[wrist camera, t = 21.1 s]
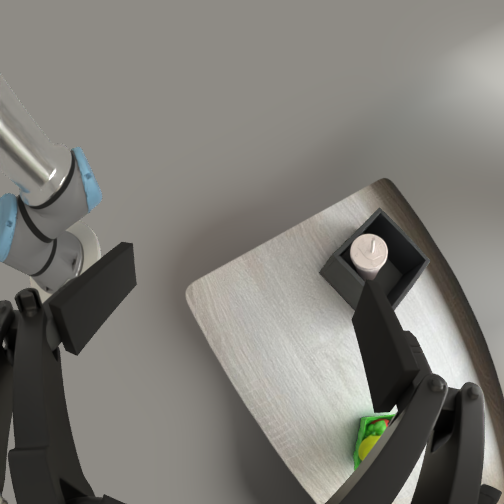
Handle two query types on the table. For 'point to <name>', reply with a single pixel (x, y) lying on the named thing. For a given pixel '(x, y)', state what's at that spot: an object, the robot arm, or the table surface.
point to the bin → (389, 275)
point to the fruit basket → (369, 435)
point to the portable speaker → (488, 495)
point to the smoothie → (368, 255)
